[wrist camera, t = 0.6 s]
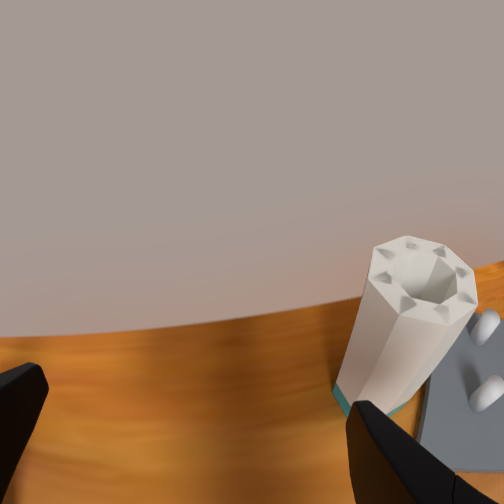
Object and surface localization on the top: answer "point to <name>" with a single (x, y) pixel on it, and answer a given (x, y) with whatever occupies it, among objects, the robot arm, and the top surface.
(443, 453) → the pin plate
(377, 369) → the vase
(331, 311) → the top surface
